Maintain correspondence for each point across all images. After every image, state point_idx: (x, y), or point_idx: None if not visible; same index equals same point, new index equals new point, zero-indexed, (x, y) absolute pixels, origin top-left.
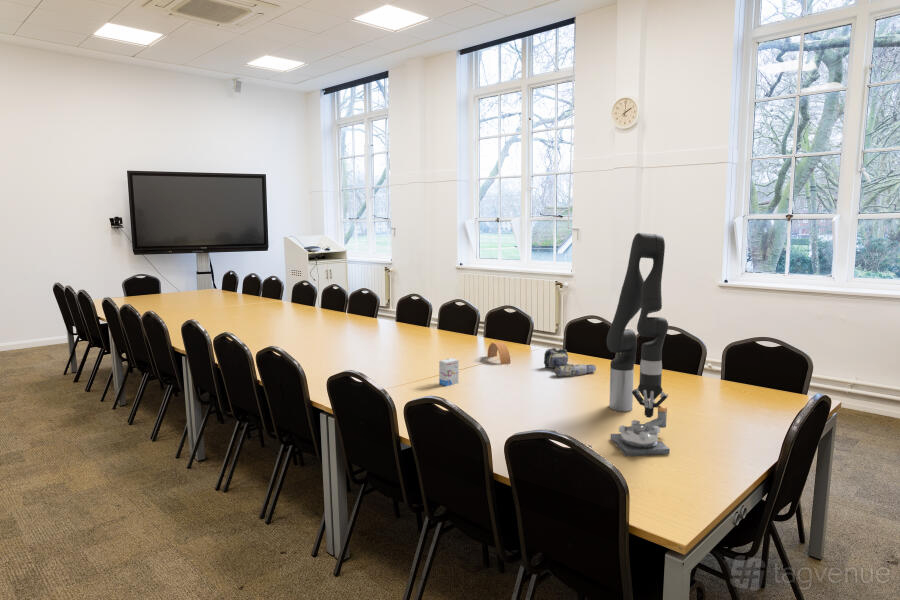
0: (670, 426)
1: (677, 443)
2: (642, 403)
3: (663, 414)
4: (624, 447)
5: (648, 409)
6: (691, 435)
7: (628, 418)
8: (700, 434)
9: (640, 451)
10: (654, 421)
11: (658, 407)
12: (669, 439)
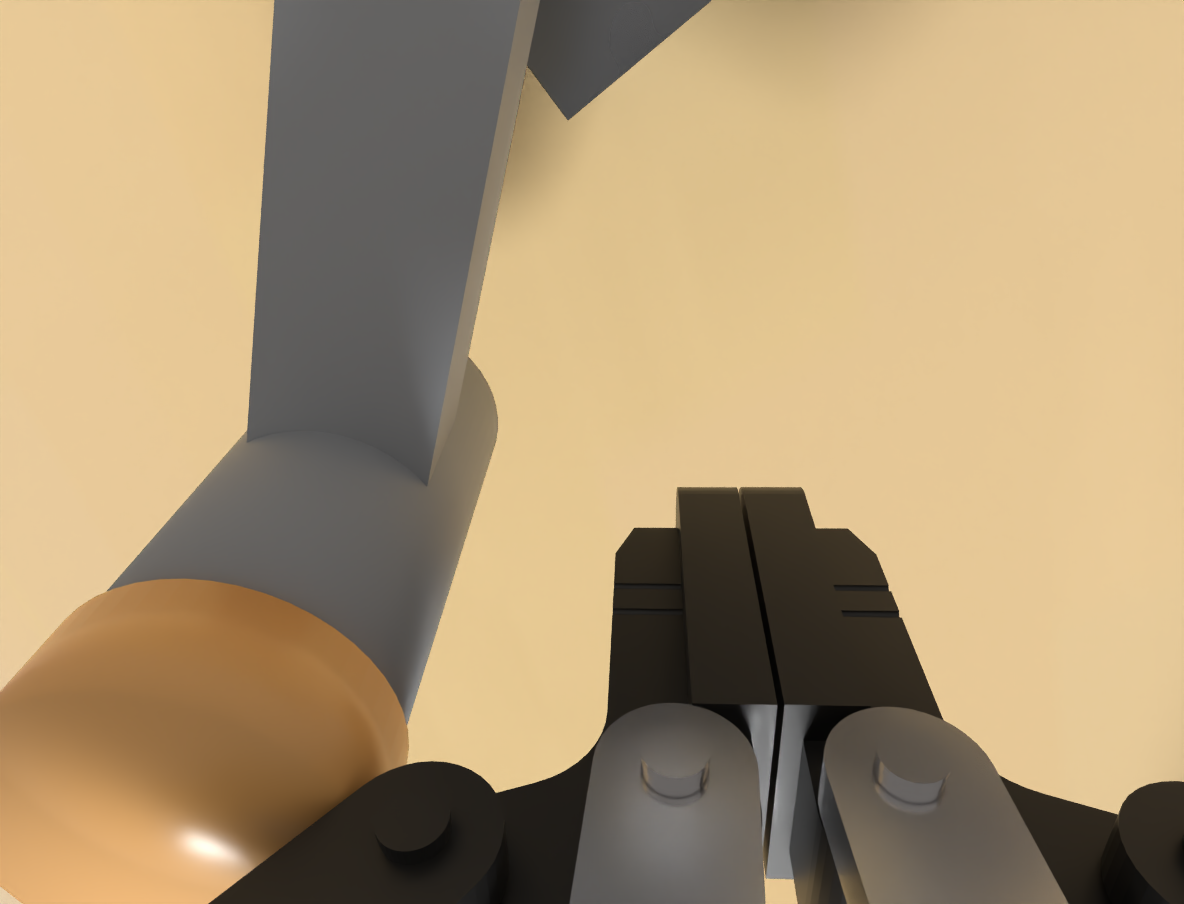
0: (467, 751)
1: (22, 70)
2: (1166, 872)
3: (164, 538)
4: None
5: (774, 669)
6: (70, 572)
7: (1117, 786)
8: (4, 659)
9: None
10: (367, 13)
11: (287, 762)
12: (245, 212)
